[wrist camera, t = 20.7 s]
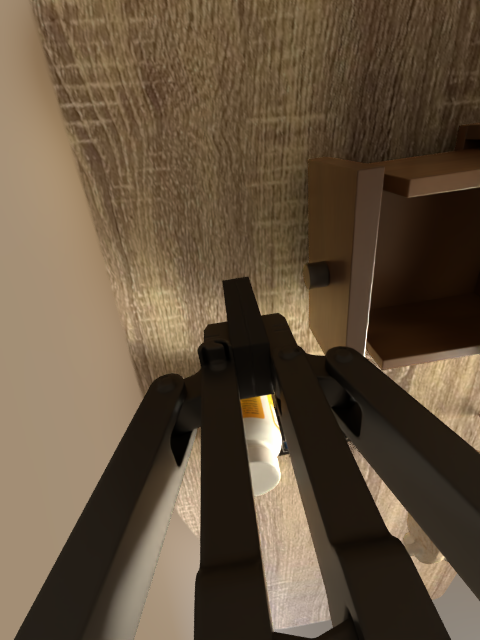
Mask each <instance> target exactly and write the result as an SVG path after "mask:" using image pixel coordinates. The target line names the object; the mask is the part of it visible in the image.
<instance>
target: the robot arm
mask: <svg viewBox="0 0 480 640" xmlns="http://www.w3.org/2000/svg"><path fill="white" fill-rule="evenodd" d="M222 282H223V290H224V298H225V306H226V313H227V321H228V322H221V323H215V324H208V325H207V327H206V328H205V330H204V343H202V344H201V345H200V346H199V348H198V355H199V359H200V364H201V369H200V370H199V371H198V372H197V373H195V374H194V375H192V376H189V377H187V378H184V379H183V377H182V376H180V375H179V374H173V373H172V374H165V375H163V376H160V377H159V378H157V379H156V380H154V381H153V383H152V384H151V385H150V387H149V389H148V391H147V393H146V395H145V396H144V398H143V400H142V402H141V404H140V406H139V408H138V410H137V411H136V413H135V415H134V417H133V419H132V421H131V423H130V424H129V426H128V428H127V430H126V432H125V434H124V436H123V437H122V439H121V441H120V443H119V445H118V447H117V449H116V450H115V452H114V454H113V456H112V458H111V460H110V462H109V463H108V465H107V467H106V469H105V471H104V473H103V475H102V476H101V479H100V480H99V482H98V484H97V486H96V488H95V490H94V491H93V493H92V495H91V497H90V499H89V501H88V503H87V504H86V506H85V508H84V510H83V512H82V514H81V516H80V517H79V519H78V521H77V523H76V525H75V527H74V529H73V530H72V532H71V534H70V536H69V538H68V540H67V542H66V544H65V545H64V547H63V549H62V551H61V553H60V555H59V557H58V558H57V561H56V562H55V564H54V566H53V568H52V570H51V572H50V573H49V575H48V577H47V579H46V581H45V583H44V584H43V586H42V588H41V590H40V592H39V594H38V596H37V598H36V600H35V601H34V603H33V605H32V607H31V609H30V611H29V613H28V614H27V616H26V618H25V620H24V622H23V624H22V626H21V627H20V629H19V631H18V633H17V635H16V637H15V639H14V640H134V637H135V634H136V630H137V627H138V624H139V621H140V617H141V614H142V611H143V607H144V604H145V601H146V598H147V594H148V591H149V588H150V584H151V581H152V578H153V575H154V571H155V568H156V565H157V562H158V558H159V555H160V552H161V548H162V545H163V542H164V539H165V535H166V532H167V528H168V525H169V522H170V519H171V515H172V512H173V509H174V506H175V502H176V499H177V496H178V493H179V489H180V486H181V483H182V479H183V476H184V473H185V470H186V466H187V463H188V460H189V456H190V453H191V450H192V447H193V443H194V440H195V437H196V433H197V428H199V427H201V528H200V546H201V547H200V568H199V571H198V573H197V575H196V581H195V607H194V608H195V609H194V640H451V638H450V636H449V634H448V632H447V631H446V628H445V627H444V624H443V622H442V620H441V618H440V616H439V614H438V612H437V610H436V608H435V606H434V604H433V602H432V600H431V598H430V596H429V594H428V591H427V589H426V587H425V585H424V583H423V581H422V579H421V577H420V575H419V573H418V571H417V569H416V567H415V565H414V563H413V561H412V559H411V557H410V555H409V553H408V551H407V550H406V548H405V546H404V545H403V544H402V542H401V541H400V540H399V539H398V538H396V537H394V536H392V535H391V534H390V532H389V531H388V529H387V527H386V525H385V523H384V521H383V519H382V517H381V515H380V513H379V510H378V508H377V506H376V504H375V502H374V500H373V497H372V495H371V493H370V491H369V489H368V487H367V485H366V482H365V480H364V478H363V476H362V474H361V472H360V470H359V467H358V465H357V463H356V461H355V459H354V457H353V454H352V452H351V450H350V448H349V446H348V444H347V442H346V439H345V437H344V435H343V433H342V431H341V429H342V430H343V432H344V433H345V434H346V435H347V437H348V438H349V439H350V440H351V442H352V443H353V444H354V445H355V447H356V448H357V449H358V450H359V452H360V453H361V454H362V455H363V457H364V458H365V459H366V460H367V462H368V463H369V464H370V465H371V466H372V468H373V469H374V470H375V471H376V473H377V474H378V475H379V476H380V478H381V479H382V480H383V481H384V483H385V484H386V485H387V486H388V488H389V489H390V490H391V491H392V493H393V494H394V495H395V496H396V498H397V499H398V500H399V501H400V502H401V504H402V505H403V506H404V507H405V509H406V510H407V511H408V512H409V514H410V515H411V516H412V517H413V519H414V520H415V521H416V522H417V524H418V525H419V526H420V527H421V529H422V530H423V531H424V532H425V534H426V535H427V536H428V537H429V538H430V540H431V541H432V542H433V543H434V545H435V546H436V547H437V548H438V550H439V551H440V552H441V553H442V555H443V556H444V557H445V558H446V560H447V561H448V562H449V563H450V565H451V566H452V567H453V568H454V570H455V571H456V572H457V573H458V574H459V576H460V577H461V578H462V579H463V581H464V582H465V583H466V584H467V586H468V587H469V588H470V589H471V591H472V592H473V593H474V594H475V596H476V597H477V598H478V599H479V601H480V453H479V452H478V451H476V450H475V449H474V448H473V447H472V446H470V445H469V444H468V443H467V442H466V441H464V440H463V439H462V438H461V437H460V436H458V435H457V434H456V433H455V432H454V431H452V430H451V429H450V428H449V427H448V426H447V425H445V424H444V423H443V422H442V421H441V420H439V419H438V418H437V417H436V416H435V415H433V414H432V413H431V412H430V411H429V410H427V409H426V408H425V407H424V406H423V405H421V404H420V403H419V402H418V401H417V400H415V399H414V398H413V397H412V396H411V395H409V394H408V393H407V392H406V391H405V390H403V389H402V388H401V387H400V386H399V385H397V384H396V383H395V382H394V381H393V380H391V379H390V378H389V377H388V376H387V375H386V374H384V373H383V372H382V371H381V370H380V369H378V368H377V367H376V366H375V365H374V364H372V363H371V362H370V361H369V360H368V359H366V358H365V357H364V356H363V355H362V354H360V353H359V352H358V351H356V350H355V349H353V348H350V347H346V346H338V347H333V348H331V349H329V350H328V351H327V352H326V356H316V355H310V354H307V353H305V351H304V350H303V349H302V348H301V347H299V346H298V345H297V343H296V341H295V339H294V337H293V335H292V332H291V330H290V328H289V326H288V323H287V321H286V319H285V317H283V316H282V315H281V314H279V313H275V314H269V315H262V316H261V314H260V311H259V308H258V305H257V301H256V298H255V295H254V292H253V289H252V286H251V283H250V280H249V277H243V278H236V279H230V280H223V281H222ZM273 388H274V389H273ZM274 392H275V399H276V411H277V416H279V417H280V421H281V424H282V428H283V432H284V436H285V439H286V443H287V447H288V451H289V454H290V458H291V462H292V465H293V469H294V473H295V477H296V480H297V484H298V488H299V492H300V495H301V499H302V503H303V507H304V510H305V514H306V518H307V522H308V525H309V529H310V533H311V537H312V540H313V544H314V548H315V552H316V555H317V559H318V563H319V567H320V570H321V574H322V578H323V582H324V585H325V589H326V594H327V598H328V605H329V611H330V616H331V621H332V625H333V628H332V629H330V630H329V631H327V632H325V633H324V634H322V635H320V636H319V637H317V638H305V637H300V636H294V635H289V634H283V633H277V632H274V629H273V622H272V616H271V609H270V603H269V596H268V589H267V582H266V575H265V568H264V561H263V554H262V547H261V540H260V533H259V526H258V519H257V512H256V505H255V498H254V491H253V484H252V477H251V470H250V463H249V456H248V449H247V442H246V435H245V428H244V421H243V414H242V408H241V402H240V399H246V398H253V397H259V396H265V395H271V394H274ZM340 428H341V429H340Z"/></svg>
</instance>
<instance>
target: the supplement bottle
mask: <svg viewBox="0 0 480 640" xmlns="http://www.w3.org/2000/svg"><path fill="white" fill-rule="evenodd" d="M240 402H241V408H242V414H243V421H244V428H245V435H246V442H247V449H248V456H249V463H250V470H251V477H252V484H253V491H254V497H256V496H260V495H263V494H265V493H267V492H269V491H271V490H272V489H273V488H274V487H275V486H276V485H277V484H278V482H279V480H280V470H279V465H278V459H277V456H278V454H279V452H280V450H281V446H282V437H281V433H280V429H279V425H278V421H277V417H276V413H275V409H274V405H273V401H272V397H271V395H265V396H259V397H253V398H246V399H240Z"/></svg>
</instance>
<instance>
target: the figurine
mask: <svg viewBox="0 0 480 640" xmlns="http://www.w3.org/2000/svg"><path fill="white" fill-rule="evenodd" d="M479 417H480V414H479ZM476 451H478V450H476ZM478 452H479V453H480V451H478ZM407 525H408V530H409V532H408V533H406V534H405V536H404V538H403V542H404V545H405V548H406V550H407V551H408V553H409V555H410V556H415V557H416V558H417V559H418V560H419V561H420V562H422V563H426V564H434V563H438V562H440V561H441V560H443V559H444V560H445V561H447V560H446V558H445V557H444V556H443V555H442V553H441V552H440V551H439V550H438V548H437V547H436V546H435V545H434V543H433V542H432V541H431V540H430V538H429V537H428V536H427V535H426V534H425V532H424V531H423V530H422V529H421V527H420V526H419V525H418V524H417V522H416V521H415V520H414V519H413V517H412V516H411V515H410V514H409V512H408V518H407ZM447 562H448V561H447Z"/></svg>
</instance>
